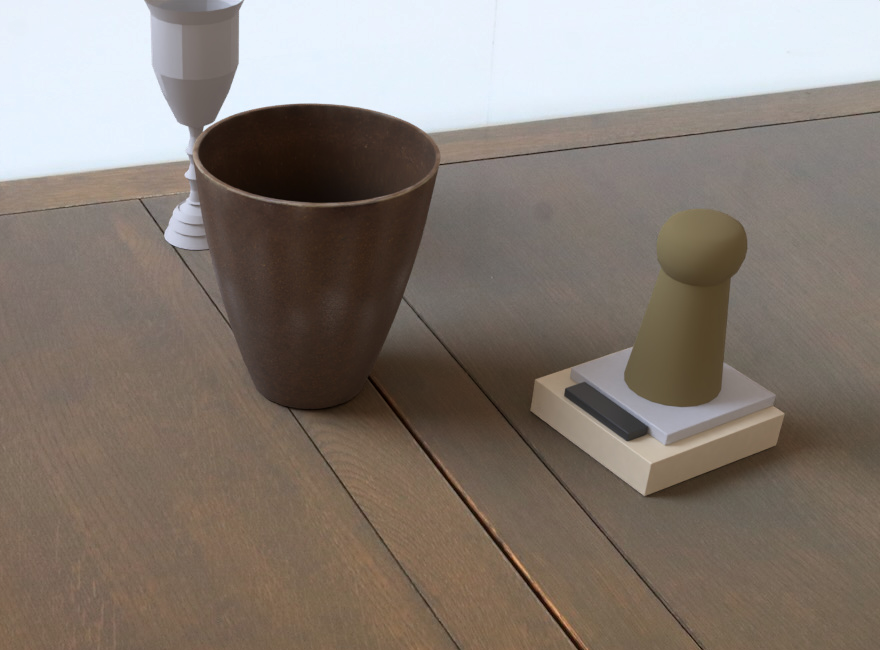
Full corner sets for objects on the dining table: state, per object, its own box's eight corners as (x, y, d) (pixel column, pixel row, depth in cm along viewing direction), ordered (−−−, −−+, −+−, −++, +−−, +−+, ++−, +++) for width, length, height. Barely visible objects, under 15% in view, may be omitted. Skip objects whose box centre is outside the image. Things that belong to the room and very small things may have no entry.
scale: (657, 366, 107) (666, 324, 104) (776, 445, 99) (788, 402, 97) (529, 411, 102) (536, 368, 100) (644, 496, 95) (653, 452, 93)
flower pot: (158, 353, 107) (151, 126, 97) (347, 305, 113) (359, 85, 102) (260, 465, 97) (265, 225, 87) (462, 406, 103) (489, 173, 92)
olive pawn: (716, 414, 96) (755, 249, 89) (616, 396, 98) (648, 233, 90) (726, 365, 101) (764, 204, 93) (631, 349, 102) (662, 189, 95)
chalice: (226, 208, 124) (226, -27, 112) (257, 246, 119) (261, 4, 108) (138, 223, 122) (129, -15, 110) (166, 261, 117) (160, 17, 106)
